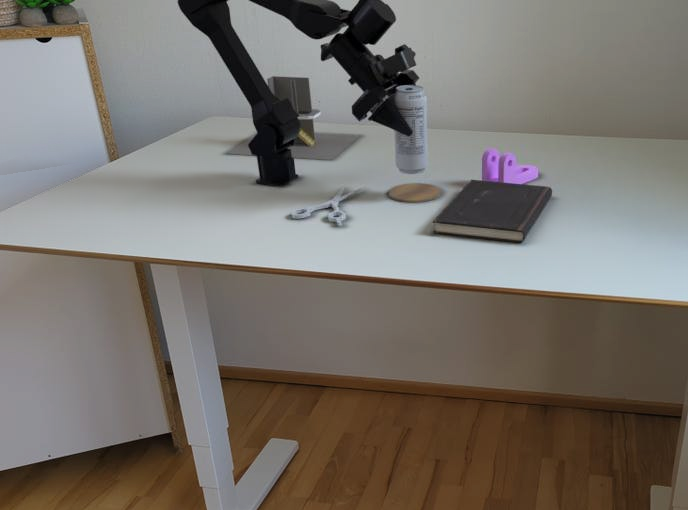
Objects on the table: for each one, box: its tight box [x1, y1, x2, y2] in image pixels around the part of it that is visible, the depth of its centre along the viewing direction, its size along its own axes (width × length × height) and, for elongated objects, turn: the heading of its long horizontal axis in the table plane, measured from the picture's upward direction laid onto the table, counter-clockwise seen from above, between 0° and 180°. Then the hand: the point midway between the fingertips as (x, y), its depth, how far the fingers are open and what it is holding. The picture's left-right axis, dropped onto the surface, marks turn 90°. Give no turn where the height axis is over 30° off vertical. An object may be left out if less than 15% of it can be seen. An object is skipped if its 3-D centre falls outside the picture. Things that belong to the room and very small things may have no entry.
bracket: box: [481, 147, 539, 184], centre depth 159 cm, size 13×6×7 cm, turn 138°
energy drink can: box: [393, 84, 429, 175], centre depth 146 cm, size 6×6×15 cm
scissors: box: [290, 184, 364, 227], centre depth 149 cm, size 11×1×20 cm
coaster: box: [388, 182, 441, 203], centre depth 154 cm, size 10×10×1 cm
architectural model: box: [225, 75, 360, 161], centre depth 180 cm, size 20×25×15 cm
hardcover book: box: [432, 179, 553, 244], centre depth 143 cm, size 16×23×2 cm
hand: (417, 130), depth 146 cm, fingers closed on energy drink can, 6 cm apart
